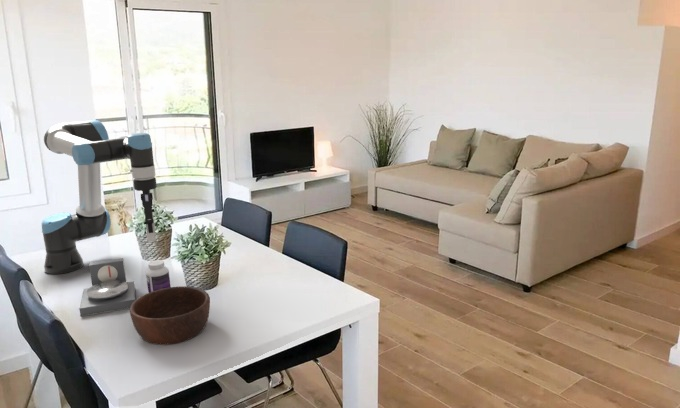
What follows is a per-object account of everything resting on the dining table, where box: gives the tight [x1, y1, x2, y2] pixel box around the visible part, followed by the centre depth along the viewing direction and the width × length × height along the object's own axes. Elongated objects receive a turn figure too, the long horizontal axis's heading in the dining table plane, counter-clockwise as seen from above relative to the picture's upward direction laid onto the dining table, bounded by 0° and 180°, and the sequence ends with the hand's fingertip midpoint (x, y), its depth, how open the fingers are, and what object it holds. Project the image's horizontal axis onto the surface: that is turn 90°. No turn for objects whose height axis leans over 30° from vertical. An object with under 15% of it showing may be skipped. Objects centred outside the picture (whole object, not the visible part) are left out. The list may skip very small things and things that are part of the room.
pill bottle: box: [145, 259, 172, 293], centre depth 199 cm, size 8×8×14 cm
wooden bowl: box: [129, 286, 211, 346], centre depth 176 cm, size 25×25×10 cm
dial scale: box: [78, 257, 136, 317], centre depth 199 cm, size 21×18×12 cm
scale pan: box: [87, 281, 128, 299], centre depth 198 cm, size 14×14×2 cm
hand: (151, 235), depth 194 cm, fingers open, 13 cm apart
